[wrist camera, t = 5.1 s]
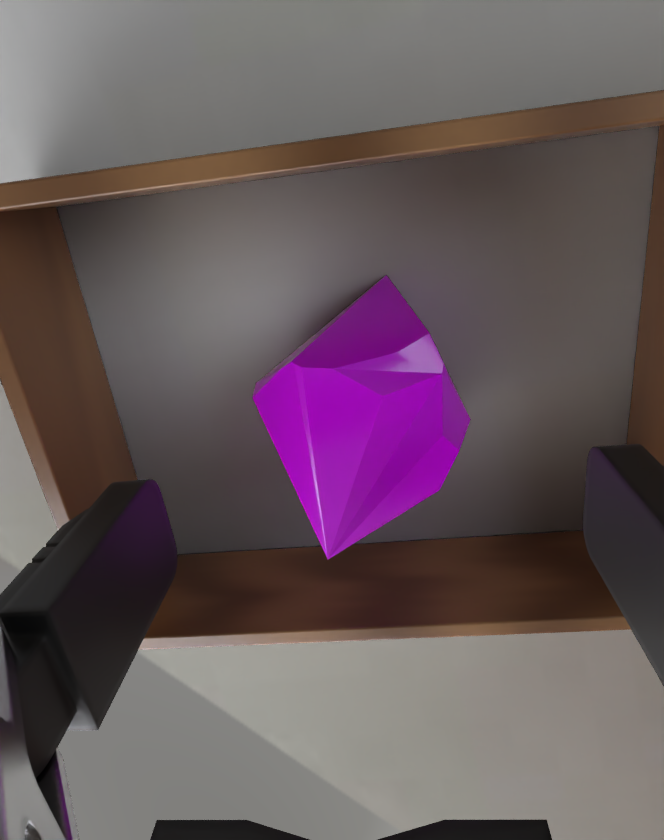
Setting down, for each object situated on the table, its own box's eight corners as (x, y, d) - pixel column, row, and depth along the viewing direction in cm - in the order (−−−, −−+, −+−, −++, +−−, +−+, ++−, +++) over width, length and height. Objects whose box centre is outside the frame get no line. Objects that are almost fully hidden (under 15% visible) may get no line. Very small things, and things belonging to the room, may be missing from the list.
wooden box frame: (151, 566, 20) (103, 651, 17) (34, 189, 15) (-73, 193, 12) (631, 539, 18) (695, 627, 15) (682, 100, 13) (800, 70, 10)
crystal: (472, 417, 17) (505, 495, 13) (320, 483, 18) (305, 572, 14) (401, 266, 15) (413, 298, 11) (240, 350, 17) (196, 407, 12)
